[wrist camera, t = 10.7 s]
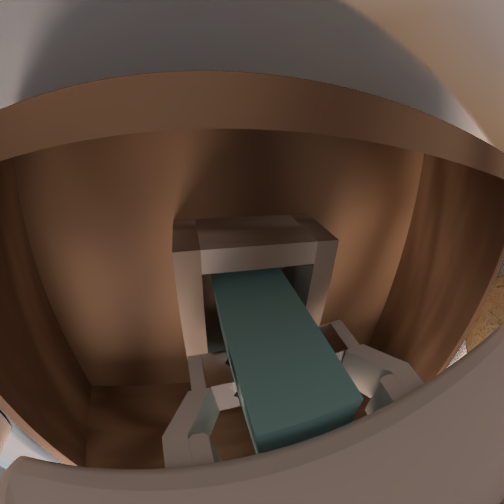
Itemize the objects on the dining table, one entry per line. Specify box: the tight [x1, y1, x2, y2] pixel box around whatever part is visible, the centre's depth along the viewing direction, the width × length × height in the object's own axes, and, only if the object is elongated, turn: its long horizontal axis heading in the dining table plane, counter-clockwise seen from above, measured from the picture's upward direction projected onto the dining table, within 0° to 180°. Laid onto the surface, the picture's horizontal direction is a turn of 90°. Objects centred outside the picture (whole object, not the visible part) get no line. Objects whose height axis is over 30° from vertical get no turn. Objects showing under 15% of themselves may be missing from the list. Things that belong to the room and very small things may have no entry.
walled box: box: [0, 71, 504, 469], centre depth 12 cm, size 24×18×8 cm
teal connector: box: [211, 267, 364, 454], centre depth 10 cm, size 3×4×8 cm
